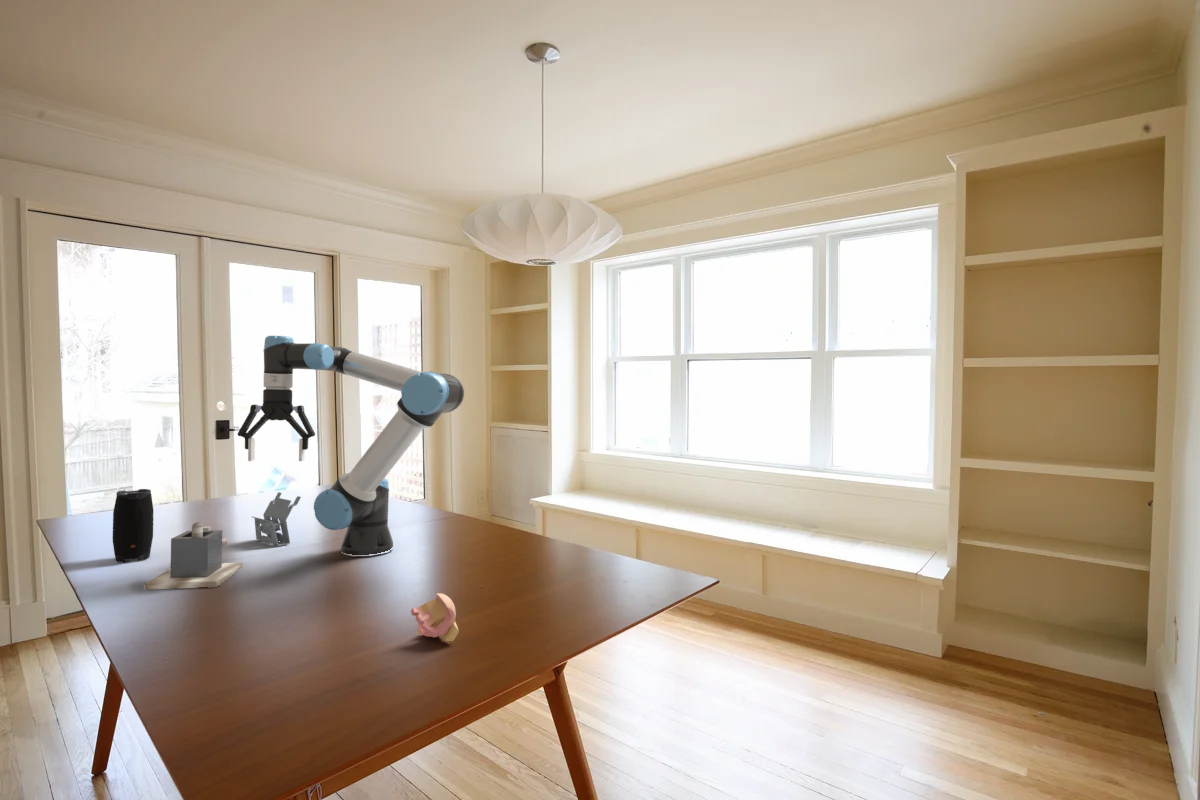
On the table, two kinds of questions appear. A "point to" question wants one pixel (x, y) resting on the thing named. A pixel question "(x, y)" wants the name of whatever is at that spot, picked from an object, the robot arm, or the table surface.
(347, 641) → the table surface
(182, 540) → the gray open tub
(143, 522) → the portable speaker
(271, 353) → the robot arm
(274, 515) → the bracket
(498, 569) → the table surface
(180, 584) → the keeper board
